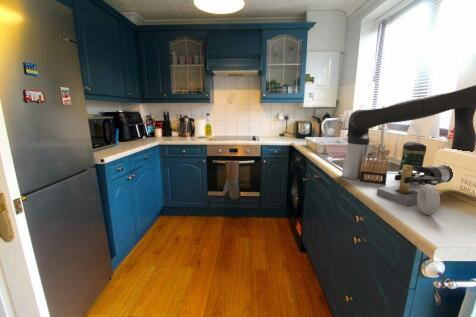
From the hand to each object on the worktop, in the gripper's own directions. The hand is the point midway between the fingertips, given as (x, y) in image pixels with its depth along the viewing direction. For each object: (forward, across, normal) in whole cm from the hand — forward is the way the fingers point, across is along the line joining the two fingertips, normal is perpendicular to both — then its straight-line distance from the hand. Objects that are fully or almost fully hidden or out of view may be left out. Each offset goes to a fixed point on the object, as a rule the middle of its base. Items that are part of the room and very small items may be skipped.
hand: (400, 179), depth 85 cm
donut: (+3, +12, +8) cm, 15 cm away
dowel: (-3, 0, +7) cm, 8 cm away
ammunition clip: (-8, -18, +8) cm, 21 cm away
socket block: (-3, 0, +8) cm, 8 cm away
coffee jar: (-29, -16, +8) cm, 34 cm away
